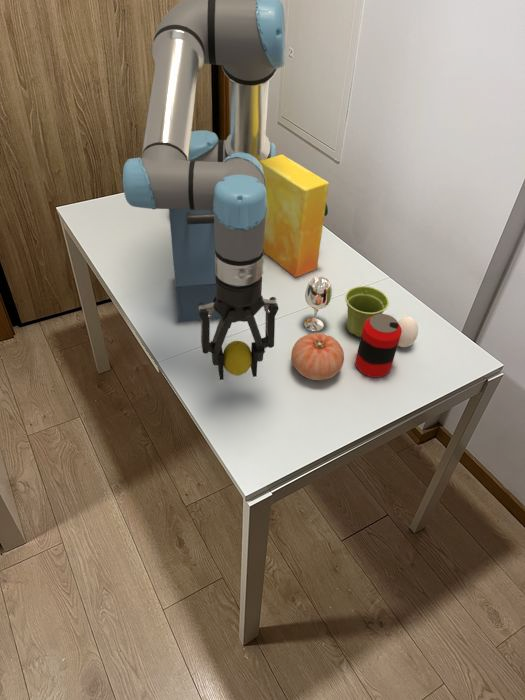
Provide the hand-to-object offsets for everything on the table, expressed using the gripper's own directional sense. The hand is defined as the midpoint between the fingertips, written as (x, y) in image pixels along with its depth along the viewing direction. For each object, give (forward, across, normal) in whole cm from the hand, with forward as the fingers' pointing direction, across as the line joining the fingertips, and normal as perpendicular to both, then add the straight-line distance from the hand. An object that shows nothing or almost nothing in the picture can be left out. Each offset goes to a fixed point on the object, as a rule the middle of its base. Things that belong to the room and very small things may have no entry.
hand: (237, 373), depth 101 cm
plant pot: (+7, +31, +16) cm, 36 cm away
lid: (-11, -4, +27) cm, 29 cm away
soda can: (+7, +30, +5) cm, 31 cm away
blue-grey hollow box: (+7, -4, +31) cm, 32 cm away
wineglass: (+7, +20, +19) cm, 29 cm away
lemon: (+1, 0, 0) cm, 1 cm away
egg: (+7, +38, +10) cm, 40 cm away
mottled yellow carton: (+7, +22, +48) cm, 53 cm away
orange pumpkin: (+7, +17, +5) cm, 19 cm away
